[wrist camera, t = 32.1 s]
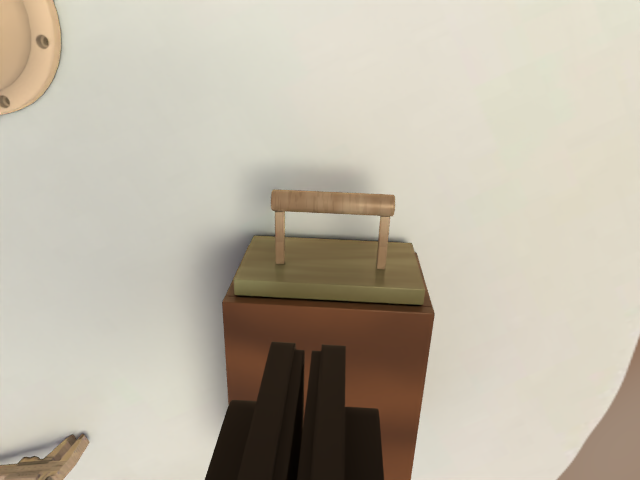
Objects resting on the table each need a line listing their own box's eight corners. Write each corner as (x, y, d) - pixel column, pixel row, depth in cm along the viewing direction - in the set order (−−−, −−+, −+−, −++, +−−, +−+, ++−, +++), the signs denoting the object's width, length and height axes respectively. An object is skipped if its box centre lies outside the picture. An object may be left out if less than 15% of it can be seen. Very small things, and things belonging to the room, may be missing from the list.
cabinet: (248, 243, 40) (221, 302, 31) (416, 252, 39) (434, 313, 31) (254, 418, 47) (234, 503, 39) (395, 427, 47) (405, 515, 38)
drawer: (251, 169, 36) (229, 202, 29) (419, 176, 36) (435, 211, 29) (258, 407, 45) (243, 473, 39) (392, 415, 45) (399, 483, 38)
